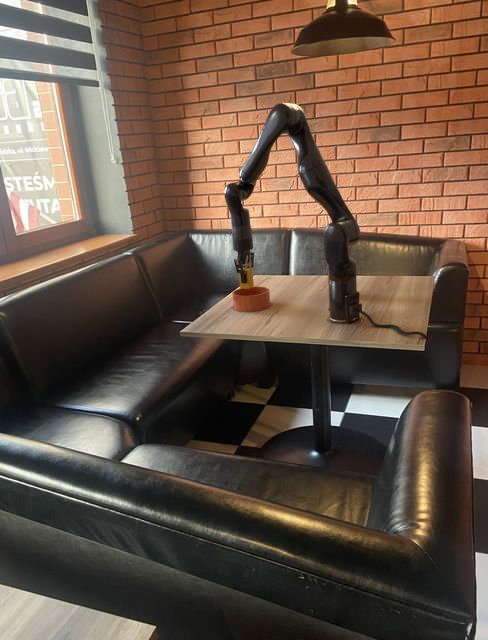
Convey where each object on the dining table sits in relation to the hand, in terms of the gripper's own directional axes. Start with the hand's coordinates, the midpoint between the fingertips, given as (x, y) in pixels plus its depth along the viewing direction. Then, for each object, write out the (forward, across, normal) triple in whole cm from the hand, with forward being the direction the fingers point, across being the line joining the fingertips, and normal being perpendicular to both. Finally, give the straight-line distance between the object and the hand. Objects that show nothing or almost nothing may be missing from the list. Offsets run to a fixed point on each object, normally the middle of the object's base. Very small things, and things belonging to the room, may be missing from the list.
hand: (246, 281), depth 207 cm
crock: (+10, -1, -2) cm, 10 cm away
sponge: (+2, 0, 0) cm, 2 cm away
